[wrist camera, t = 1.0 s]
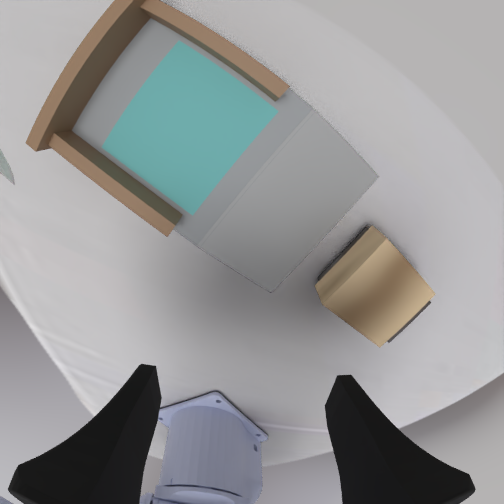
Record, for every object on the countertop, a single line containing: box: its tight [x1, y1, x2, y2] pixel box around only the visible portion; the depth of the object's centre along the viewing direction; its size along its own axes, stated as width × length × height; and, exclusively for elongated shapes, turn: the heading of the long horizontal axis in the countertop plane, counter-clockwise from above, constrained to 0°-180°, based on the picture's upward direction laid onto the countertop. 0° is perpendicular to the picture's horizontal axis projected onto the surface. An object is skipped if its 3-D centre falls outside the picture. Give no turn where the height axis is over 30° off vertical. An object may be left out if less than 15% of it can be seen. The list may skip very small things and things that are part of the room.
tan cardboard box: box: [315, 226, 435, 347], centre depth 18 cm, size 6×5×3 cm
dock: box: [26, 0, 379, 293], centre depth 15 cm, size 18×10×5 cm, turn 51°
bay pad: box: [102, 41, 279, 216], centre depth 15 cm, size 7×8×1 cm
